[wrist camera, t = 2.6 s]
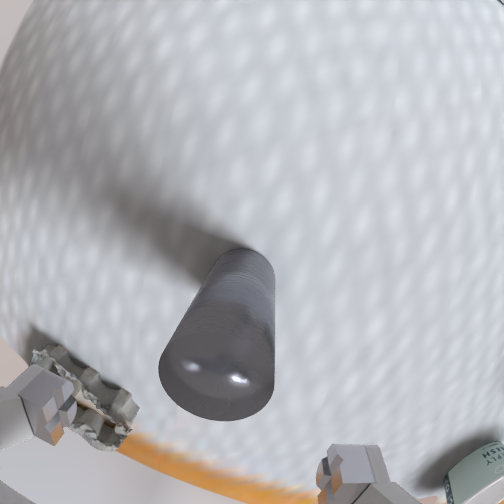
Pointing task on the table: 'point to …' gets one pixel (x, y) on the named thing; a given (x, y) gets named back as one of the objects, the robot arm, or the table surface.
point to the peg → (225, 342)
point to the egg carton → (92, 400)
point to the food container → (477, 477)
